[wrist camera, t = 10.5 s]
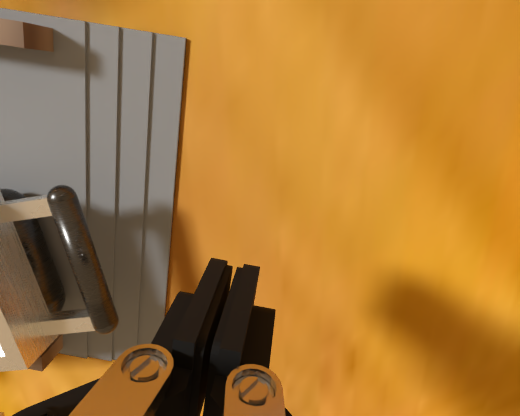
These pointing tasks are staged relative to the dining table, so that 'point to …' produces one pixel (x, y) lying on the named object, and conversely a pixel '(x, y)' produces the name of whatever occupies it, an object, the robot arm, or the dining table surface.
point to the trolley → (46, 277)
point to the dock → (96, 156)
